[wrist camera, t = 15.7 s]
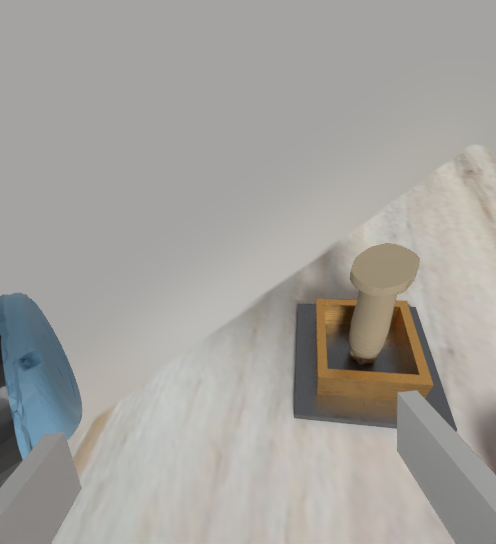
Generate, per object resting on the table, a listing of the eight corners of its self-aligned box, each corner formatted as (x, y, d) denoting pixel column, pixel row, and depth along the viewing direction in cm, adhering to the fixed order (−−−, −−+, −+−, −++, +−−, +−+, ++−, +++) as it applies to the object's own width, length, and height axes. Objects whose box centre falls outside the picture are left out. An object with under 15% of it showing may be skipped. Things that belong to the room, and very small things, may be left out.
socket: (294, 418, 33) (293, 398, 30) (297, 308, 45) (297, 284, 41) (453, 434, 30) (472, 413, 27) (413, 311, 42) (423, 286, 38)
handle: (329, 357, 37) (339, 269, 27) (361, 328, 39) (382, 237, 29) (362, 385, 34) (388, 297, 24) (395, 351, 36) (431, 259, 26)
